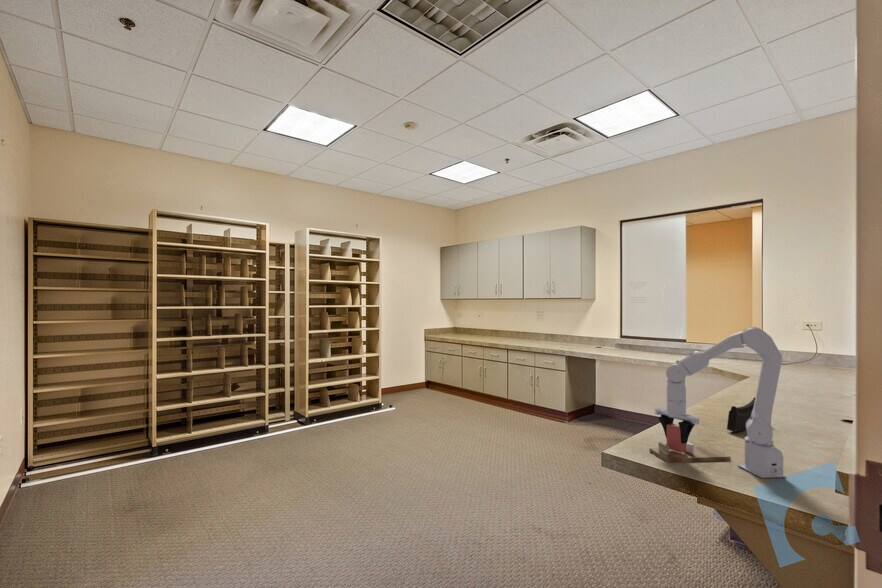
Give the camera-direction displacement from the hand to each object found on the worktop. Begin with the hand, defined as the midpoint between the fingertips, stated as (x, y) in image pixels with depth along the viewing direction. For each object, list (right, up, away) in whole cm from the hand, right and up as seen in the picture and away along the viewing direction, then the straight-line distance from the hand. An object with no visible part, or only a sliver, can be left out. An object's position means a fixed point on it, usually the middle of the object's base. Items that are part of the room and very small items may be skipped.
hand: (676, 440), depth 145 cm
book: (0, -3, 0) cm, 3 cm away
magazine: (+49, -7, +35) cm, 61 cm away
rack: (+4, -5, 0) cm, 7 cm away
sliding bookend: (+4, -4, 0) cm, 6 cm away
